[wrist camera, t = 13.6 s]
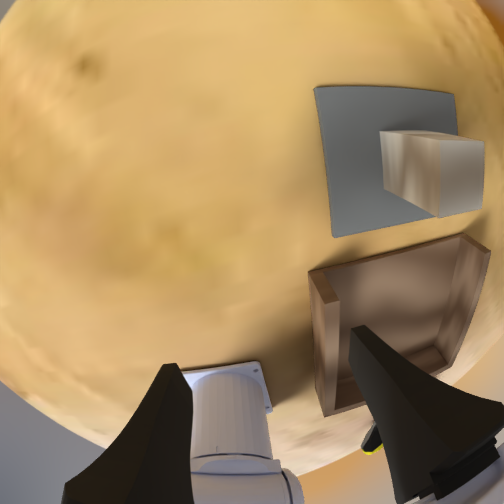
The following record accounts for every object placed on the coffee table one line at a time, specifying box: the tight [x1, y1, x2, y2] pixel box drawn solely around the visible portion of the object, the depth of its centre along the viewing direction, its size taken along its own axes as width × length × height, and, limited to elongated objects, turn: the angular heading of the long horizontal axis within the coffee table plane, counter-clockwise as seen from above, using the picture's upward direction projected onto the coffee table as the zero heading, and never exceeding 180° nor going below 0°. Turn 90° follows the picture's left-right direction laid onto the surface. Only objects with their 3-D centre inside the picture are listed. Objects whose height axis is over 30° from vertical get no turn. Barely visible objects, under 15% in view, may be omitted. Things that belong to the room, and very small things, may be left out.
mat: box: [314, 86, 458, 238], centre depth 16 cm, size 10×12×1 cm
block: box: [380, 130, 484, 218], centre depth 13 cm, size 4×4×6 cm
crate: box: [308, 233, 491, 417], centre depth 21 cm, size 15×16×4 cm
